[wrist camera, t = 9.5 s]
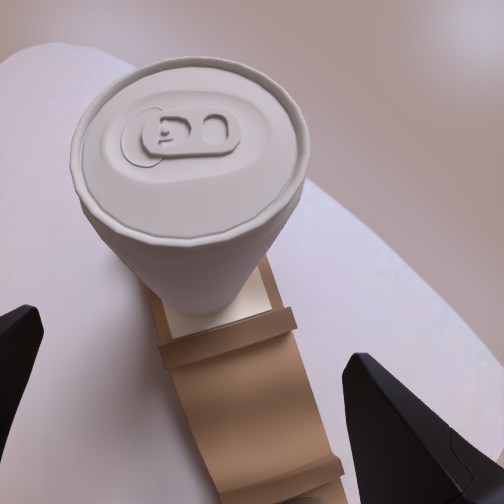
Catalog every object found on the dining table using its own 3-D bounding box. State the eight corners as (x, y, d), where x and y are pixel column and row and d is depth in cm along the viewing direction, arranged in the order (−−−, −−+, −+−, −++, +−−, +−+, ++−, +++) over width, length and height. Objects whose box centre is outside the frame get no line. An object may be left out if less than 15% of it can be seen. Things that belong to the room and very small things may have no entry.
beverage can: (154, 234, 17) (90, 64, 5) (238, 229, 17) (292, 56, 6) (157, 320, 15) (44, 265, 4) (246, 314, 16) (343, 247, 5)
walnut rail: (350, 529, 14) (366, 545, 11) (261, 563, 12) (268, 584, 10) (239, 198, 20) (244, 177, 17) (135, 225, 18) (125, 207, 16)
